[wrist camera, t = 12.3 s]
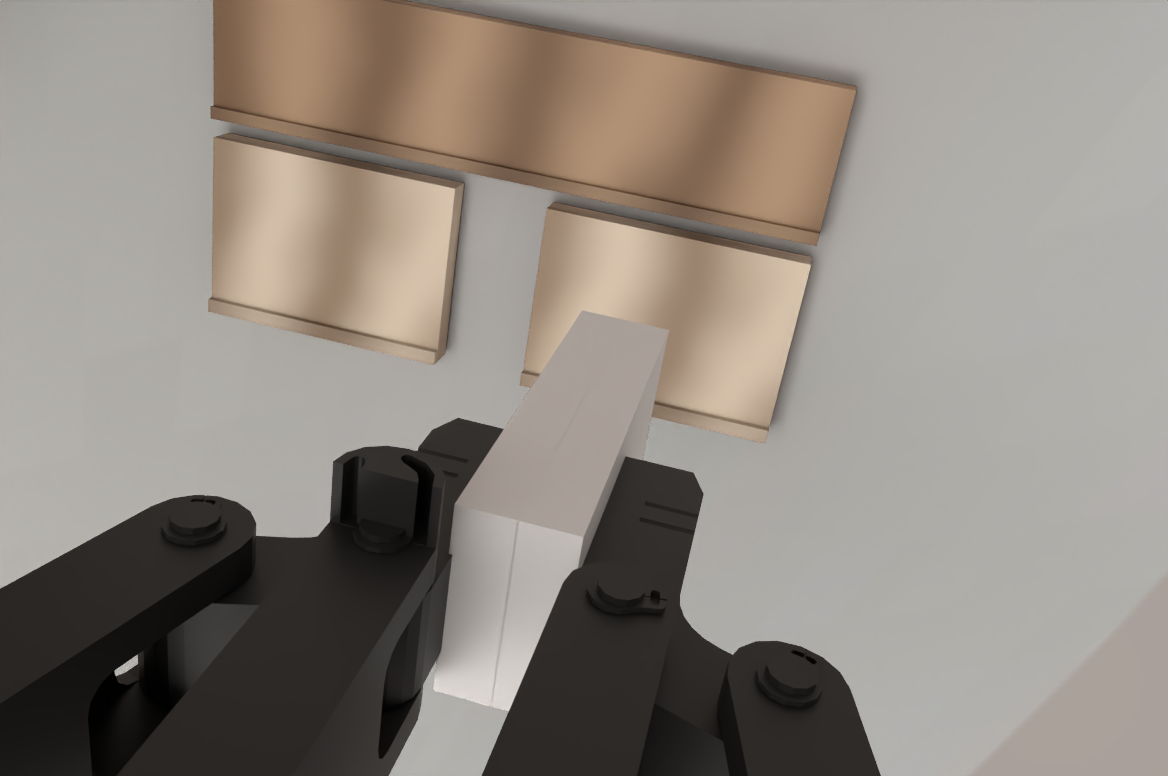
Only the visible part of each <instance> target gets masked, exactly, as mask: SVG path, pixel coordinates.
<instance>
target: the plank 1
mask: <svg viewBox="0 0 1168 776" xmlns="http://www.w3.org/2000/svg"><path fill="white" fill-rule="evenodd" d="M463 189H464V183H461V182H456V181H452V180H447V179H442V178H437V177H433V176H428V175H423V174H419V173H414V172H409V171H404V170H400V169H395V168H390V167H386V166H381V165H376V164H371V163H367V162H362V161H357V160H353V159H348V158H343V157H339V156H334V155H329V154H324V153H320V152H315V151H310V150H306V149H301V148H296V147H291V146H287V145H282V144H277V143H273V142H268V141H263V140H259V139H254V138H249V137H244V136H240V135H235V134H230V133H227V134H223V135H220V136H217V137H214V169H213V256H212V298H210V299H209V303H208V311H209V312H213V313H217V314H222V315H226V316H230V317H234V318H238V319H243V320H247V321H251V322H255V323H259V324H264V325H268V326H272V327H276V328H281V329H285V330H289V331H293V332H297V333H302V334H306V335H310V336H314V337H318V338H323V339H327V340H331V341H335V342H339V343H344V344H348V345H352V346H356V347H360V348H365V349H369V350H373V351H377V352H381V353H386V354H390V355H394V356H398V357H402V358H407V359H411V360H415V361H419V362H424V363H428V364H432V365H434V364H435V363H436V362H437V361H438V360H439V359H440V358H441V357H442V356H443V355H444V354H445V350H446V341H447V332H448V323H449V314H450V305H451V296H452V287H453V278H454V270H455V261H456V252H457V243H458V234H459V225H460V216H461V207H462V198H463Z"/></svg>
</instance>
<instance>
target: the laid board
mask: <svg viewBox="0 0 1168 776" xmlns="http://www.w3.org/2000/svg"><path fill="white" fill-rule="evenodd" d="M213 7H214V106H211V118H212V119H217V120H221V121H226V122H231V123H236V124H240V125H245V126H250V127H255V128H259V129H264V130H269V131H274V132H278V133H283V134H288V135H293V136H297V137H302V138H307V139H312V140H316V141H321V142H326V143H330V144H335V145H340V146H345V147H349V148H354V149H359V150H364V151H368V152H373V153H378V154H383V155H387V156H392V157H397V158H402V159H406V160H411V161H416V162H421V163H425V164H430V165H435V166H440V167H444V168H449V169H454V170H458V171H463V172H468V173H473V174H477V175H482V176H487V177H492V178H496V179H501V180H506V181H511V182H515V183H520V184H525V185H530V186H534V187H539V188H544V189H549V190H553V191H558V192H563V193H568V194H572V195H577V196H582V197H586V198H591V199H596V200H601V201H605V202H610V203H615V204H620V205H624V206H629V207H634V208H639V209H643V210H648V211H653V212H658V213H662V214H667V215H672V216H677V217H681V218H686V219H691V220H696V221H700V222H705V223H710V224H714V225H719V226H724V227H729V228H733V229H738V230H743V231H748V232H752V233H757V234H762V235H767V236H771V237H776V238H781V239H786V240H790V241H795V242H800V243H805V244H809V245H814V246H817V242H818V238H819V234H820V229H821V225H822V221H823V218H824V214H825V210H826V206H827V202H828V198H829V195H830V191H831V187H832V183H833V179H834V175H835V171H836V168H837V164H838V160H839V156H840V152H841V148H842V145H843V141H844V137H845V133H846V129H847V125H848V122H849V118H850V114H851V110H852V106H853V102H854V98H855V95H856V86H853V85H848V84H843V83H838V82H832V81H827V80H822V79H816V78H811V77H806V76H801V75H795V74H790V73H785V72H780V71H774V70H769V69H764V68H758V67H753V66H748V65H743V64H737V63H732V62H727V61H721V60H716V59H711V58H706V57H700V56H695V55H690V54H685V53H679V52H674V51H669V50H663V49H658V48H653V47H648V46H642V45H637V44H632V43H627V42H621V41H616V40H611V39H605V38H600V37H595V36H590V35H584V34H579V33H574V32H568V31H563V30H558V29H553V28H547V27H542V26H537V25H532V24H526V23H521V22H516V21H510V20H505V19H500V18H495V17H489V16H484V15H479V14H474V13H468V12H463V11H458V10H452V9H447V8H442V7H437V6H431V5H426V4H421V3H415V2H410V1H405V0H213Z"/></svg>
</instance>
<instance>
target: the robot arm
mask: <svg viewBox="0 0 1168 776" xmlns="http://www.w3.org/2000/svg"><path fill="white" fill-rule="evenodd" d="M668 333H669V330H667V329H663V328H658V327H654V326H650V325H645V324H641V323H636V322H632V321H628V320H623V319H619V318H614V317H610V316H605V315H601V314H597V313H592V312H588V311H583V310H582V311H581V313H580V314H579V316H578V317H577V319H576V320H575V322H574V323H573V325H572V326H571V328H570V330H569V331H568V333H567V334H566V336H565V337H564V339H563V340H562V342H561V343H560V345H559V346H558V348H557V349H556V351H555V352H554V354H553V355H552V357H551V358H550V360H549V361H548V363H547V364H546V366H545V368H544V369H543V371H542V372H541V374H540V375H539V377H538V378H537V380H536V381H535V383H534V384H533V386H532V387H531V389H530V390H529V392H528V393H527V395H526V396H525V398H524V399H523V401H522V402H521V404H520V406H519V407H518V409H517V410H516V412H515V413H514V415H513V416H512V418H511V419H510V421H509V422H508V424H507V425H506V427H505V428H504V429H501V428H497V427H493V426H489V425H485V424H481V423H477V422H472V421H468V420H464V419H460V418H457V419H455V420H453V421H451V422H448V423H446V424H444V425H442V426H440V427H438V428H436V429H433V430H432V431H431V432H430V434H429V435H428V436H427V437H426V439H425V440H424V441H423V442H422V444H421V445H420V446H419V448H418V451H413V450H410V449H405V448H398V447H391V446H377V447H364V448H361V449H357V450H354V451H350V452H347V453H345V454H344V455H342V456H341V457H339V458H338V459H336V460H335V461H333V478H332V496H331V514H330V522H329V523H328V525H327V526H326V527H325V528H324V529H323V531H322V532H321V533H320V534H319V535H318V537H311V538H286V537H266V536H256V522H255V520H254V518H253V516H252V514H251V512H250V511H249V510H248V509H246V508H245V507H243V506H242V505H240V504H239V503H237V502H235V501H231V500H228V499H224V498H221V497H218V496H204V495H193V496H186V497H179V498H172V499H169V500H167V501H164V502H162V503H159V504H156V505H154V506H151V507H149V508H148V509H146V510H144V511H142V512H140V513H138V514H137V515H135V516H133V517H131V518H129V519H127V520H126V521H124V522H122V523H120V524H118V525H116V526H115V527H113V528H111V529H109V530H107V531H105V532H104V533H102V534H100V535H98V536H96V537H94V538H93V539H91V540H89V541H87V542H85V543H83V544H82V545H80V546H78V547H76V548H74V549H73V550H71V551H69V552H67V553H65V554H63V555H62V556H60V557H58V558H56V559H54V560H52V561H51V562H49V563H47V564H45V565H43V566H41V567H40V568H38V569H36V570H34V571H32V572H30V573H29V574H27V575H25V576H23V577H21V578H19V579H18V580H16V581H14V582H12V583H10V584H8V585H7V586H5V587H3V588H1V589H0V776H389V774H390V772H391V770H392V768H393V766H394V764H395V762H396V760H397V758H398V756H399V755H400V753H401V751H402V749H403V747H404V745H405V743H406V741H407V739H408V737H409V735H410V733H411V732H412V730H413V728H414V726H415V724H416V722H417V720H418V716H419V712H420V707H421V700H422V691H423V683H424V682H425V680H426V678H427V676H428V674H429V672H430V670H431V669H432V667H433V665H434V663H435V661H436V659H437V661H436V669H435V678H434V687H433V690H434V691H437V692H441V693H445V694H448V695H452V696H455V697H459V698H462V699H466V700H469V701H473V702H476V703H480V704H484V705H487V706H491V707H494V708H498V709H501V710H505V711H508V715H507V717H506V719H505V722H504V724H503V727H502V729H501V731H500V734H499V736H498V738H497V741H496V743H495V746H494V748H493V750H492V753H491V755H490V757H489V760H488V762H487V765H486V767H485V769H484V772H483V774H482V776H881V775H880V772H879V770H878V767H877V764H876V761H875V758H874V755H873V753H872V750H871V747H870V744H869V741H868V738H867V735H866V733H865V730H864V727H863V724H862V721H861V718H860V716H859V713H858V710H857V707H856V704H855V701H854V699H853V696H852V693H851V690H850V688H849V686H848V685H847V683H846V681H845V680H844V678H843V676H842V675H841V673H840V672H839V671H838V670H837V669H836V668H834V667H833V666H832V665H831V664H830V663H829V662H827V661H826V660H825V659H824V658H823V657H821V656H819V655H817V654H815V653H813V652H811V651H809V650H807V649H805V648H803V647H801V646H796V645H792V644H788V643H784V642H780V641H758V642H754V643H751V644H748V645H746V646H743V647H741V648H739V649H738V650H737V651H736V652H735V653H734V655H732V654H730V653H728V652H726V651H724V650H722V649H720V648H718V647H717V646H715V645H713V644H712V643H710V642H709V641H707V640H705V639H704V638H703V637H702V636H700V635H699V634H698V633H697V632H696V631H695V630H694V629H693V628H692V627H691V626H690V624H689V623H688V622H687V620H686V619H685V617H684V616H683V613H682V610H681V607H680V592H681V588H682V584H683V580H684V575H685V571H686V567H687V562H688V558H689V554H690V550H691V545H692V541H693V537H694V532H695V528H696V524H697V520H698V515H699V511H700V507H701V503H702V498H703V492H702V490H701V488H700V486H699V484H698V482H697V479H696V477H695V475H694V473H692V472H688V471H684V470H680V469H676V468H672V467H668V466H663V465H659V464H655V463H651V462H647V461H643V456H644V451H645V446H646V441H647V436H648V431H649V426H650V421H651V416H652V411H653V406H654V402H655V397H656V392H657V387H658V382H659V377H660V372H661V367H662V362H663V357H664V352H665V347H666V343H667V338H668ZM137 654H138V664H137V665H136V666H134V667H133V668H132V669H130V670H129V671H127V672H125V673H123V674H121V675H119V676H115V672H114V670H116V669H117V668H118V667H120V666H121V665H123V664H124V663H126V662H127V661H129V660H130V659H132V658H133V657H134V656H136V655H137Z"/></svg>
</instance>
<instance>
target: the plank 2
mask: <svg viewBox="0 0 1168 776" xmlns="http://www.w3.org/2000/svg"><path fill="white" fill-rule="evenodd" d="M811 259H812V257H809V256H804V255H800V254H795V253H790V252H786V251H781V250H776V249H771V248H767V247H762V246H757V245H753V244H748V243H743V242H739V241H734V240H729V239H724V238H720V237H715V236H710V235H706V234H701V233H696V232H691V231H687V230H682V229H677V228H673V227H668V226H663V225H659V224H654V223H649V222H644V221H640V220H635V219H630V218H626V217H621V216H616V215H611V214H607V213H602V212H597V211H593V210H588V209H583V208H579V207H574V206H569V205H564V204H560V203H555V202H553V203H552V204H551V205H550V206H549V207H548V208H547V211H546V218H545V225H544V231H543V238H542V245H541V252H540V259H539V266H538V273H537V280H536V287H535V294H534V300H533V307H532V314H531V321H530V328H529V335H528V342H527V349H526V356H525V363H524V369H523V372H522V373H521V380H520V385H521V386H526V387H530V388H531V387H532V386H533V384H534V383H535V381H536V380H537V378H538V377H539V375H540V374H541V372H542V371H543V369H544V368H545V366H546V364H547V363H548V361H549V360H550V358H551V357H552V355H553V354H554V352H555V351H556V349H557V348H558V346H559V345H560V343H561V342H562V340H563V339H564V337H565V336H566V334H567V333H568V331H569V330H570V328H571V326H572V325H573V323H574V322H575V320H576V319H577V317H578V316H579V314H580V313H581V311H582V310H583V311H588V312H592V313H597V314H601V315H605V316H610V317H614V318H619V319H623V320H628V321H632V322H636V323H641V324H645V325H650V326H654V327H658V328H663V329H667V330H669V333H668V338H667V343H666V347H665V352H664V357H663V362H662V367H661V372H660V377H659V382H658V387H657V392H656V397H655V402H654V406H653V411H652V417H656V418H660V419H664V420H669V421H673V422H677V423H681V424H685V425H690V426H694V427H698V428H702V429H707V430H711V431H715V432H719V433H723V434H728V435H732V436H736V437H740V438H744V439H749V440H753V441H757V442H761V443H766V439H767V435H768V431H769V426H770V422H771V418H772V414H773V410H774V406H775V403H776V399H777V395H778V391H779V387H780V383H781V379H782V376H783V372H784V368H785V364H786V360H787V356H788V352H789V349H790V345H791V341H792V337H793V333H794V329H795V325H796V322H797V318H798V314H799V310H800V306H801V302H802V298H803V295H804V291H805V287H806V283H807V279H808V275H809V271H810V268H811Z"/></svg>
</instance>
